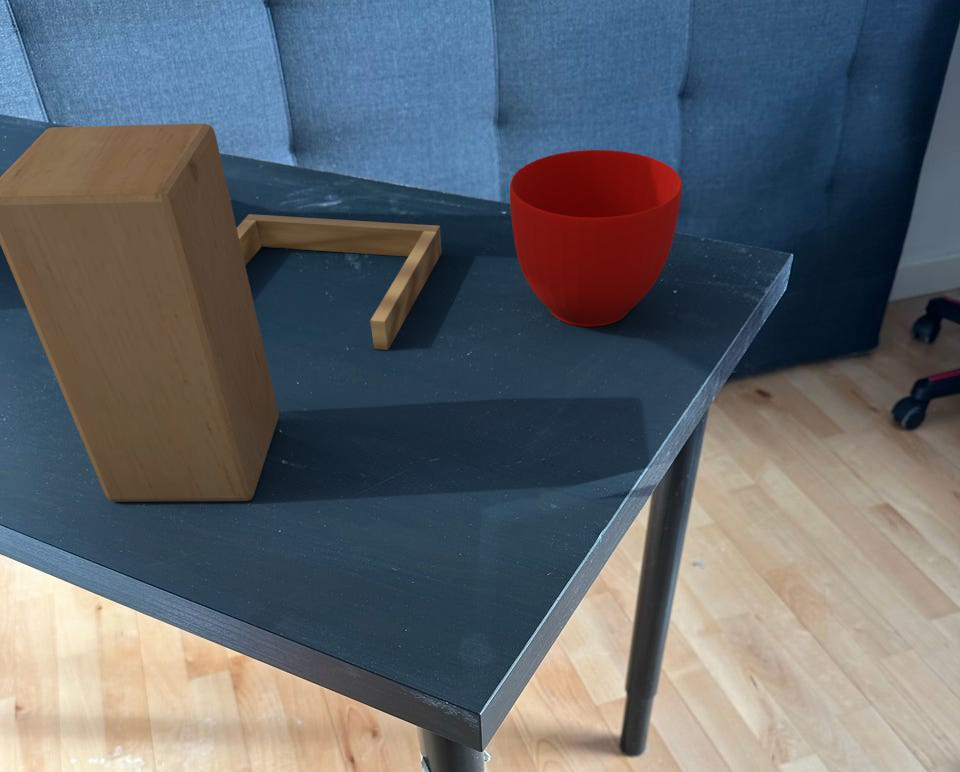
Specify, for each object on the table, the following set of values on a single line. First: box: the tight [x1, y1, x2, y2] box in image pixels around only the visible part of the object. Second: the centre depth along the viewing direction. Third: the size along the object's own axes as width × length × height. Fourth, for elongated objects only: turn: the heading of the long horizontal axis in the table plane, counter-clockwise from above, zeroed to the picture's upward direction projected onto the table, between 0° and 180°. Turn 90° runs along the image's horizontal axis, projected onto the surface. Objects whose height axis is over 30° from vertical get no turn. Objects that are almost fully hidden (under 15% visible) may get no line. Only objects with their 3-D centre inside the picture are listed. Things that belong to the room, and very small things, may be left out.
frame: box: [236, 213, 443, 351], centre depth 80 cm, size 17×18×2 cm
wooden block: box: [0, 122, 280, 503], centre depth 58 cm, size 10×10×20 cm
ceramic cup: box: [509, 149, 683, 327], centre depth 75 cm, size 13×17×10 cm
